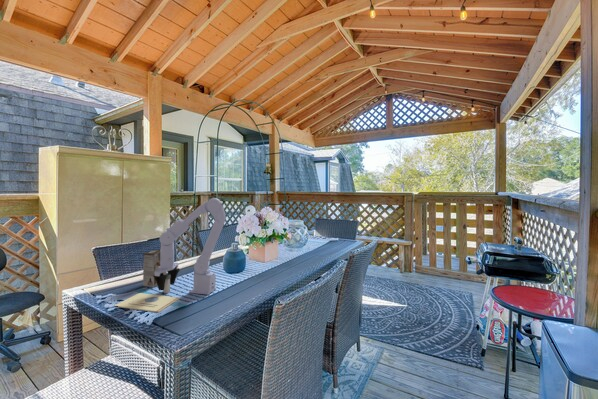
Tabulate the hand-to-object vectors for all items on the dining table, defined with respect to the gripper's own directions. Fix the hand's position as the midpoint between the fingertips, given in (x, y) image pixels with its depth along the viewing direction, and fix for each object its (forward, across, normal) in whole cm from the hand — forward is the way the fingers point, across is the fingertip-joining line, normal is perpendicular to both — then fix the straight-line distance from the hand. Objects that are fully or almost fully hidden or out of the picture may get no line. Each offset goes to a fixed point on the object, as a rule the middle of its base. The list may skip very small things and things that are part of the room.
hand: (166, 286), depth 132 cm
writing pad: (+2, +12, 0) cm, 12 cm away
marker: (+2, 0, 0) cm, 2 cm away
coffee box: (+3, -8, -12) cm, 15 cm away
